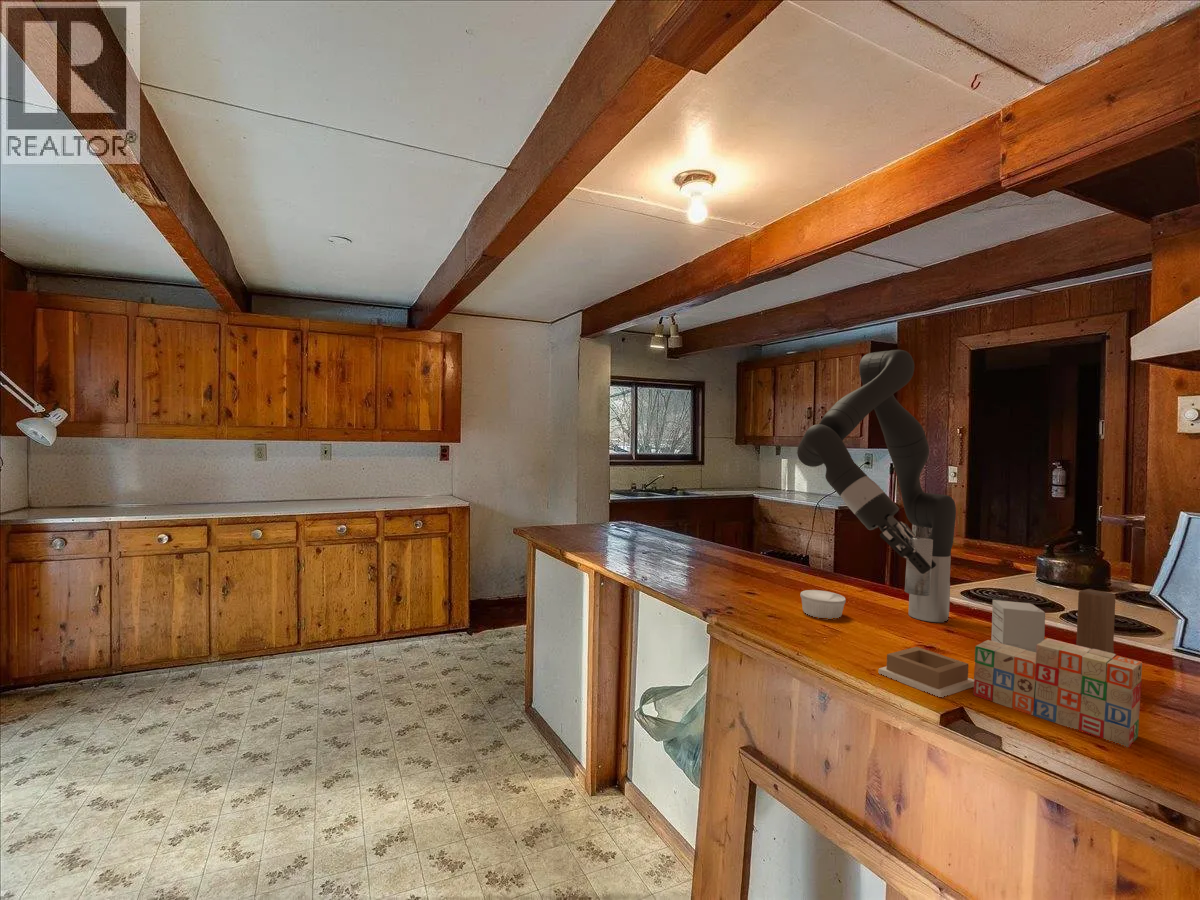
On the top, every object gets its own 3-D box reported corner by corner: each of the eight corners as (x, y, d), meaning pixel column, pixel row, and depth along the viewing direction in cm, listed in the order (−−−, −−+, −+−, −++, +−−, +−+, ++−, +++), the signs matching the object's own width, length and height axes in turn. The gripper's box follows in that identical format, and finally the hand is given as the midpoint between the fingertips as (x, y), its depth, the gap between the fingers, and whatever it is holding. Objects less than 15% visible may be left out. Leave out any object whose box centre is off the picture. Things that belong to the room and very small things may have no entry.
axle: (913, 589, 117) (916, 536, 117) (934, 595, 113) (937, 540, 113) (899, 591, 115) (903, 536, 115) (921, 596, 111) (924, 540, 111)
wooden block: (1092, 674, 116) (1096, 586, 116) (1121, 682, 112) (1125, 591, 112) (1073, 682, 111) (1077, 590, 111) (1103, 691, 107) (1107, 596, 107)
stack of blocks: (971, 696, 103) (974, 628, 103) (985, 688, 107) (988, 623, 107) (1130, 749, 86) (1133, 668, 86) (1139, 737, 90) (1143, 660, 90)
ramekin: (852, 622, 146) (852, 601, 146) (808, 620, 146) (809, 600, 146) (834, 609, 157) (835, 590, 157) (794, 608, 157) (794, 589, 157)
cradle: (913, 663, 118) (914, 644, 118) (975, 685, 108) (976, 664, 108) (878, 673, 112) (879, 653, 112) (940, 698, 102) (941, 675, 101)
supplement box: (1029, 661, 122) (1032, 602, 122) (1044, 674, 115) (1046, 612, 115) (989, 656, 124) (991, 598, 124) (1001, 668, 117) (1003, 607, 117)
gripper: (873, 492, 114) (939, 563, 106) (891, 490, 124) (952, 555, 116) (844, 515, 117) (905, 585, 109) (864, 512, 128) (922, 575, 120)
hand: (929, 569), depth 113 cm, fingers closed on axle, 4 cm apart
